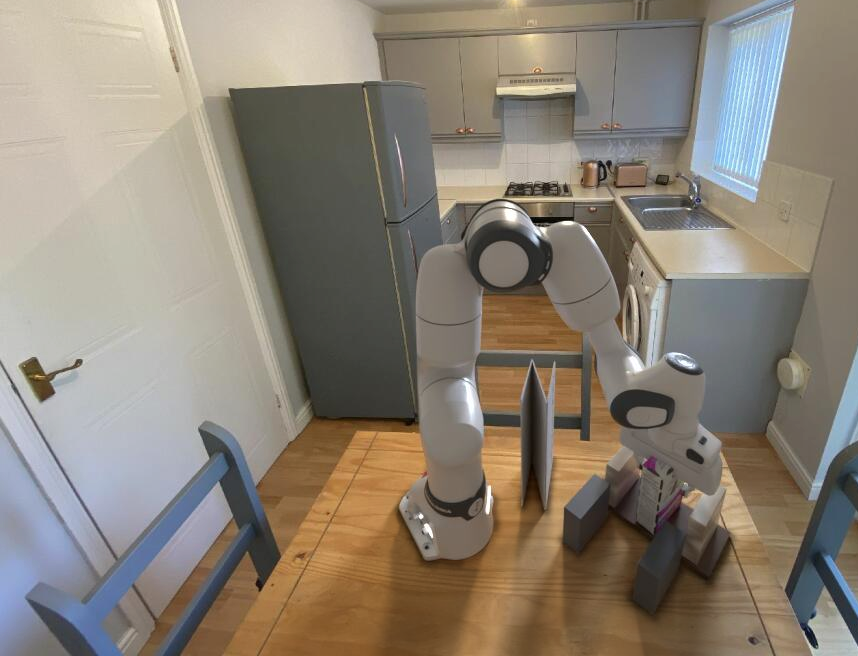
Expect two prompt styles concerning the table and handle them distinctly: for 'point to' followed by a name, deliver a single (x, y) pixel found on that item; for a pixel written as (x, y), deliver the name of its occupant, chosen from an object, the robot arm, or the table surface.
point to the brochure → (537, 431)
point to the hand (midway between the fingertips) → (662, 480)
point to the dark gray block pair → (656, 561)
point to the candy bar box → (657, 494)
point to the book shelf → (697, 523)
